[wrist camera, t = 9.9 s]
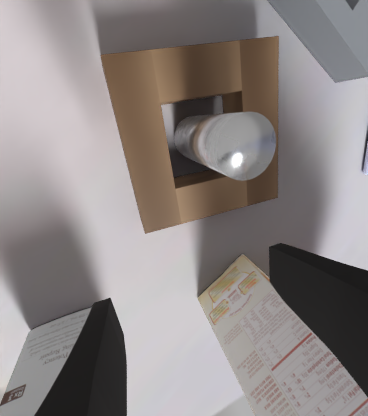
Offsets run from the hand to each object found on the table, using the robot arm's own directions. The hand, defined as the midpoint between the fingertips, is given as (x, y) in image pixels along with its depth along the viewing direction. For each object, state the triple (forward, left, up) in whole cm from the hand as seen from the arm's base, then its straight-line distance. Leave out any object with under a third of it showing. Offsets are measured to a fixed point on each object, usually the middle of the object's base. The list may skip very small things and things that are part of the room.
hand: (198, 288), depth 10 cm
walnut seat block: (-4, -5, -10) cm, 12 cm away
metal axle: (-4, -5, -10) cm, 12 cm away
